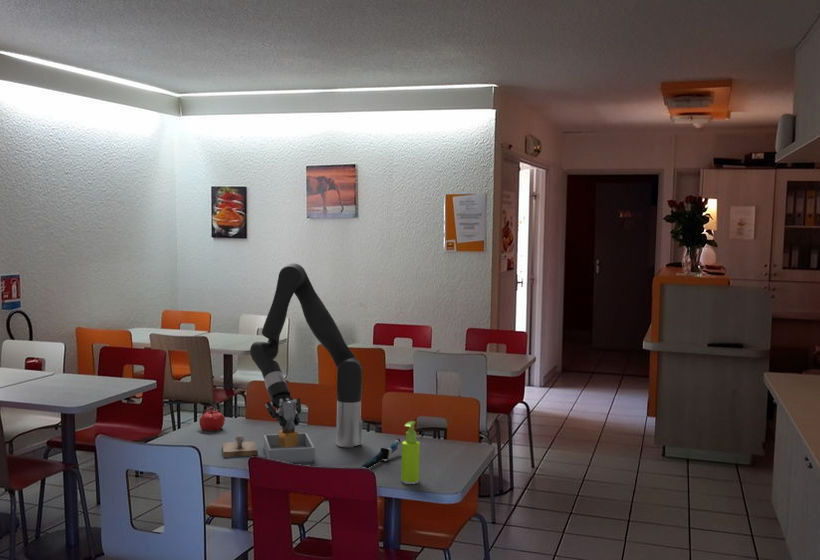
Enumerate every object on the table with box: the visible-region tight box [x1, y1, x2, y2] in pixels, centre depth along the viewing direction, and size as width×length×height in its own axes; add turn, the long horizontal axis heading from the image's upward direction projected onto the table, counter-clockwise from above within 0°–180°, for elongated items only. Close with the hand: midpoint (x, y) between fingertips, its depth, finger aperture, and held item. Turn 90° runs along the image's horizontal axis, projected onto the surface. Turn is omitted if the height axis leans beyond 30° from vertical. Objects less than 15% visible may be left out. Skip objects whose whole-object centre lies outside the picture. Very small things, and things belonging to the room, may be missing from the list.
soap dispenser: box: [400, 420, 421, 482], centre depth 253 cm, size 6×7×20 cm
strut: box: [278, 400, 299, 447], centre depth 280 cm, size 5×5×16 cm
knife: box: [361, 438, 402, 468], centre depth 273 cm, size 31×3×4 cm, turn 150°
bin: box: [263, 432, 316, 464], centre depth 281 cm, size 16×21×5 cm
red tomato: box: [199, 406, 226, 432], centre depth 314 cm, size 10×10×9 cm
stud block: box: [221, 434, 259, 458], centre depth 283 cm, size 12×12×6 cm
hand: (290, 425), depth 279 cm, fingers closed on strut, 4 cm apart
